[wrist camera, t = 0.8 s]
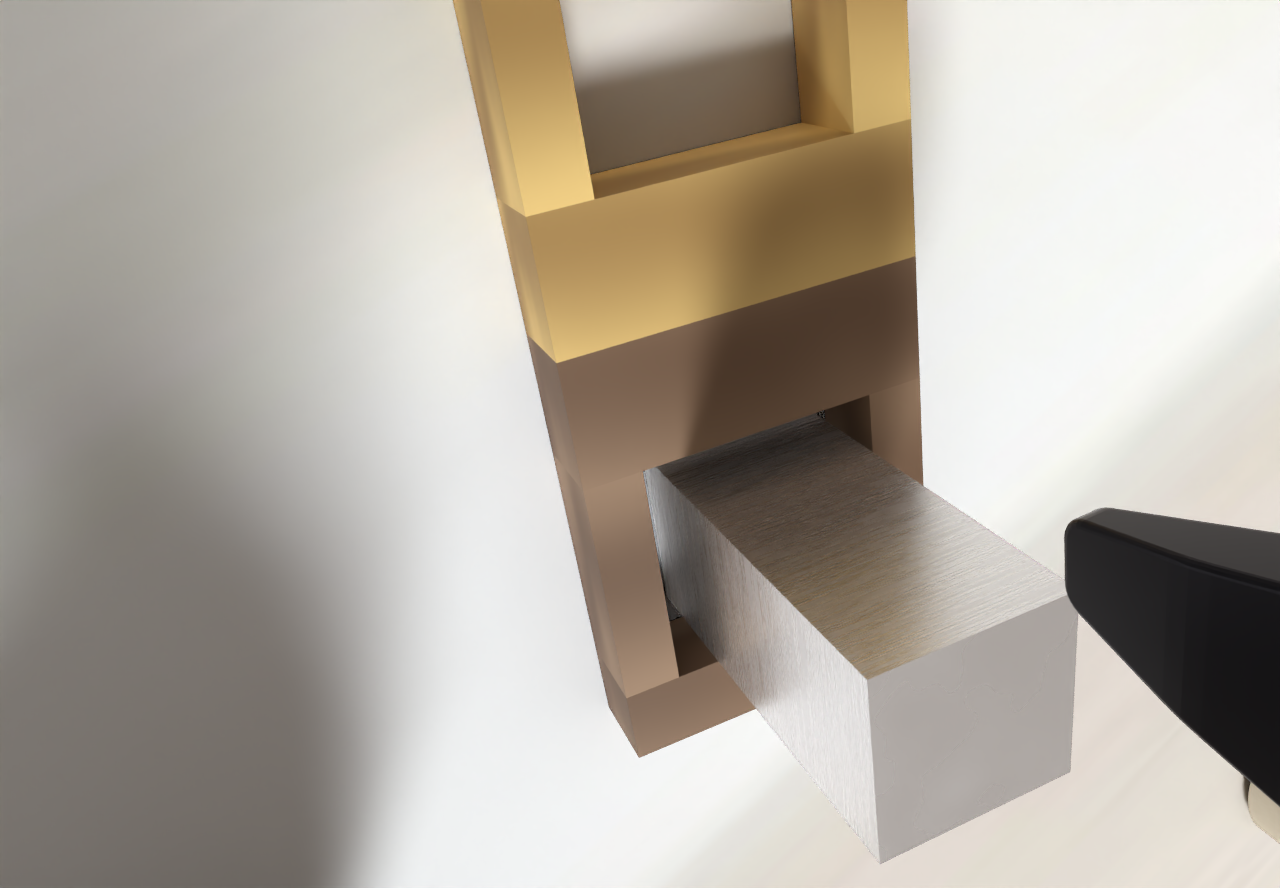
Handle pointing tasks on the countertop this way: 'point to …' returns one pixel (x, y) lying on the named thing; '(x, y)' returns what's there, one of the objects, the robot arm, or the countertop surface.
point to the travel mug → (1264, 812)
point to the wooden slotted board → (701, 304)
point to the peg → (871, 627)
